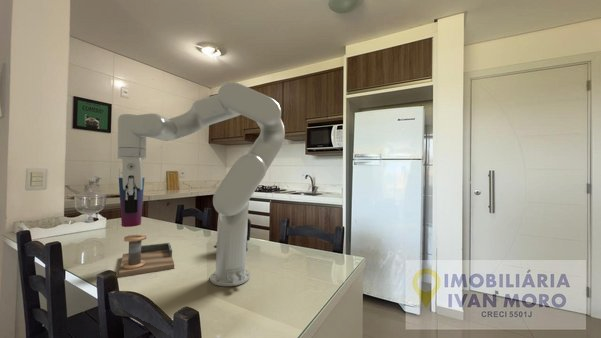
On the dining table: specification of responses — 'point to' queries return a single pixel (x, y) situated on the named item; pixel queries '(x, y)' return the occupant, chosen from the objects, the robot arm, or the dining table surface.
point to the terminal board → (145, 257)
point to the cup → (126, 218)
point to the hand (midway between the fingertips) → (131, 210)
